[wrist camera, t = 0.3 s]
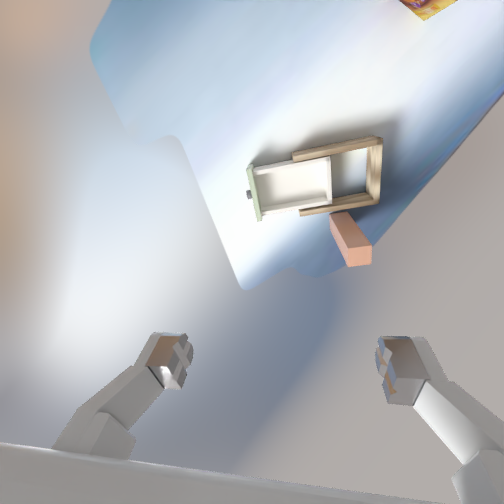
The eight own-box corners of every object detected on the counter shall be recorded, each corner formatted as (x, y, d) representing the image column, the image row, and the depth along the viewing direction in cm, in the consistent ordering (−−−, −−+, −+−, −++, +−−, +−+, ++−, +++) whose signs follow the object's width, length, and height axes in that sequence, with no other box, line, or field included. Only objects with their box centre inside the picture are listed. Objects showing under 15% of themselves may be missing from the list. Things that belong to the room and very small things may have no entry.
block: (329, 214, 56) (348, 248, 42) (347, 211, 55) (371, 245, 42) (330, 229, 58) (348, 266, 44) (347, 226, 57) (370, 264, 44)
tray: (242, 165, 51) (240, 171, 47) (325, 148, 49) (331, 152, 44) (253, 213, 57) (252, 222, 53) (328, 200, 54) (333, 208, 50)
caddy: (291, 152, 50) (293, 156, 45) (372, 135, 47) (383, 138, 43) (298, 208, 56) (300, 216, 52) (370, 195, 53) (379, 203, 49)
